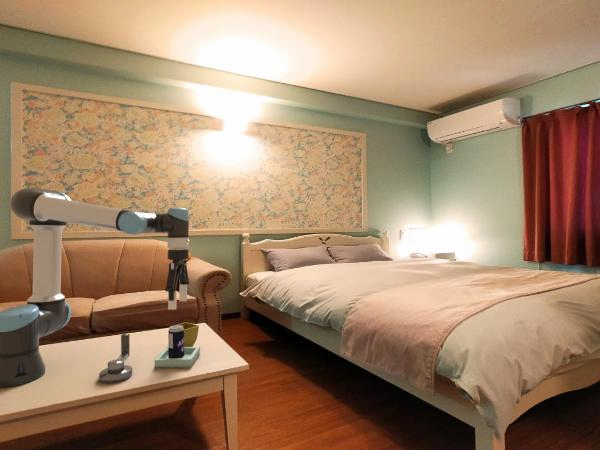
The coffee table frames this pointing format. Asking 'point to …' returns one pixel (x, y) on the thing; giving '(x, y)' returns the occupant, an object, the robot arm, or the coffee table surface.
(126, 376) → the crank base
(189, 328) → the flower pot
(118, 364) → the crank
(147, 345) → the coffee table surface
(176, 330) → the beverage can
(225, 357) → the coffee table surface
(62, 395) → the coffee table surface
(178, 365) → the tray
